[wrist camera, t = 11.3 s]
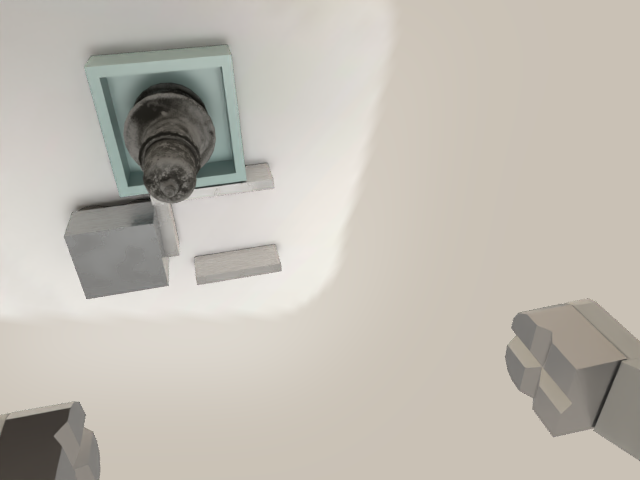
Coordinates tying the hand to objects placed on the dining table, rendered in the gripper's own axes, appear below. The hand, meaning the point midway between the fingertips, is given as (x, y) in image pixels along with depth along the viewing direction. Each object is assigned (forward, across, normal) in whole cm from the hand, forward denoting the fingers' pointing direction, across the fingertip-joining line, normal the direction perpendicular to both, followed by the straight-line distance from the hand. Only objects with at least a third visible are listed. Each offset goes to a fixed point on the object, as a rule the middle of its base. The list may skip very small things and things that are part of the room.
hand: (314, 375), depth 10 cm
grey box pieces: (+31, +5, +14) cm, 34 cm away
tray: (+31, +4, +5) cm, 32 cm away
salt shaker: (+31, +4, +5) cm, 31 cm away
